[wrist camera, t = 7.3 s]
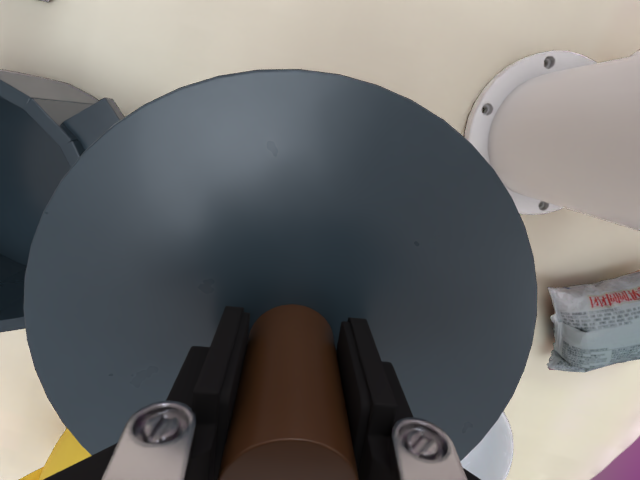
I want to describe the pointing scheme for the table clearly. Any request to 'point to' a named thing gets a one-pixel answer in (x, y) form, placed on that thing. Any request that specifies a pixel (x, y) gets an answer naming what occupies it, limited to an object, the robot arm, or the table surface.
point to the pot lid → (281, 266)
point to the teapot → (61, 457)
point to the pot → (37, 166)
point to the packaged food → (596, 324)
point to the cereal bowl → (492, 453)
